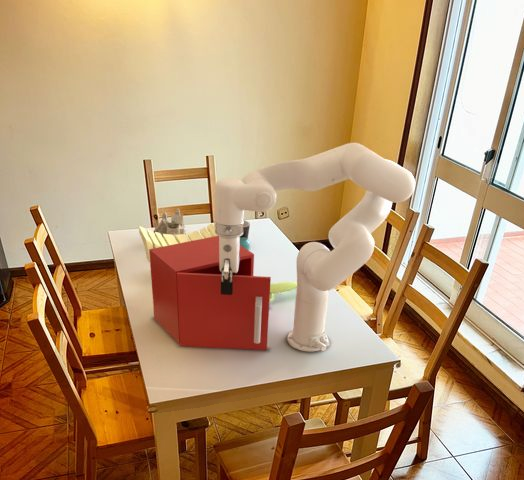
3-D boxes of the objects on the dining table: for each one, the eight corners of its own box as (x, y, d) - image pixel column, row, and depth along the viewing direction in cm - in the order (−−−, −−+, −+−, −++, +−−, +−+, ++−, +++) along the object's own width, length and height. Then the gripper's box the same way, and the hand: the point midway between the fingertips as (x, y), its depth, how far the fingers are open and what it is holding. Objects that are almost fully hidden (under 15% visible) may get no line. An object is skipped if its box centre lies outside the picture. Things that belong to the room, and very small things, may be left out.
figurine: (321, 315, 185) (323, 300, 182) (242, 309, 186) (243, 294, 183) (320, 290, 201) (322, 276, 198) (247, 285, 202) (248, 271, 199)
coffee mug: (248, 250, 229) (249, 227, 224) (228, 249, 229) (228, 226, 224) (249, 240, 239) (250, 217, 234) (229, 239, 239) (230, 217, 233)
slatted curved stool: (150, 289, 196) (147, 242, 186) (142, 271, 208) (138, 225, 199) (231, 279, 206) (231, 233, 196) (218, 262, 218) (218, 218, 208)
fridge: (251, 323, 179) (254, 254, 166) (179, 344, 167) (175, 271, 154) (223, 300, 192) (223, 234, 178) (154, 318, 179) (149, 249, 166)
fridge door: (266, 361, 161) (270, 287, 148) (177, 356, 161) (173, 283, 148) (266, 348, 166) (270, 276, 154) (180, 344, 166) (177, 272, 154)
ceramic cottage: (157, 236, 238) (156, 202, 229) (194, 241, 236) (194, 208, 227) (144, 251, 226) (141, 217, 216) (182, 258, 223) (182, 223, 214)
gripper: (241, 240, 138) (239, 301, 147) (245, 217, 152) (243, 274, 162) (211, 238, 138) (211, 299, 147) (217, 215, 152) (217, 272, 162)
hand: (228, 286), depth 154 cm, fingers open, 9 cm apart
